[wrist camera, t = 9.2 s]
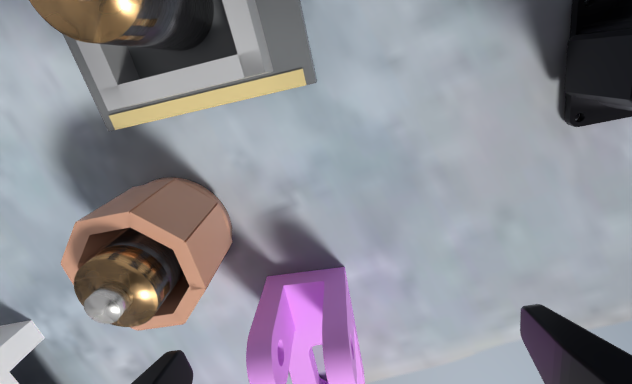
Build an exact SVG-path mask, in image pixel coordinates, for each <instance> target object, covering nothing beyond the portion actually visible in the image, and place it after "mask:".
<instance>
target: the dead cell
mask: <svg viewBox="0 0 632 384" xmlns="http://www.w3.org/2000/svg"><path fill="white" fill-rule="evenodd" d="M183 274H184V273H183V270H182V268H181V266H180V264H179V262H178V259H177V257H176V255H175V253H174V251H173V250H172V249H171V248H169V247H167V246H165V245H163V244H161V243H159V242H157V241H155V240H153V239H152V238H150V237H148V236H146V235H144V234H142V233H140V232H138V231H136V230H134V229H132V228H131V227H130V228H129V229H128V230H126V231H125V232H124V233H123V234H121V235H120V236H119V237H118V238H116V239H115V240H114V241H113V242H111V243H110V244H109V245H108V246H106V247H105V248H104V249H103V250H101V251H100V252H99V253H98V254H96V255H95V256H94V257H93V258H91V259H90V260H89V261H88V262H86V263H85V264H84V265H83V266H82V267H80V268H79V270H78V271H77V273H76V275H75V278H74V289H75V293H76V295H77V297H78V299H79V301H80V302H81V304H82V305H83V306H84V310H85V312H86V313H87V315H88V316H89V317H90V318H92V319H93V320H95V321H97V322H99V323H103V324H112V325H116V326H121V327H134V326H139V325H142V324H144V323H146V322H148V321H149V320H150V319H151V318H152V317H153V316H154V315H155V313H156V312H157V311H158V309H159V308H160V306H161V305H162V304H163V302H164V301H165V299H166V298H167V297H168V295H169V294H170V292H171V291H172V290H173V288H174V287H175V285H176V284H177V283H178V281H179V280H180V278H181V277H182V276H183Z"/></svg>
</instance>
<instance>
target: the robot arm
mask: <svg viewBox="0 0 632 384" xmlns="http://www.w3.org/2000/svg"><path fill="white" fill-rule="evenodd" d="M565 92H566V106H565V122H566V123H567V124H568V125H571V126H575V127H580V126H585V125H590V124H596V123H601V122H606V121H611V120H616V119H621V118H626V117H632V0H589V3H588V5H587V6H585V5H584V0H573V3H572V15H571V30H570V40H569V42H568V48H567V64H566V79H565ZM578 113H579V114H580V116H579V118H578V119H577V120H575V116H576V115H577V114H578ZM520 332H521V337H522V340H523V342H524V344H525V346H526V348H527V350H528V352H529V353H530V356H531V358H532V359H533V362H534V364H535V366H536V367H537V369H538V371H539V373H540V375H541V377H542V379H543V381H544V383H545V384H632V355H630V354H628V353H627V352H625V351H623V350H621V349H620V348H618V347H616V346H614V345H612V344H611V343H609V342H607V341H605V340H604V339H602V338H600V337H598V336H596V335H595V334H593V333H591V332H589V331H588V330H586V329H584V328H582V327H581V326H579V325H577V324H575V323H573V322H572V321H570V320H568V319H566V318H565V317H563V316H561V315H559V314H557V313H556V312H554V311H552V310H550V309H549V308H547V307H545V306H543V305H540V304H535V305H527V306H523V307H522V308H521V320H520ZM192 381H193V370H192V368H191V366H190V364H189V362H188V360H187V358H186V356H185V354H184V353H183V352H182V351H181V350H177V351H169V352H166V353H165V354H164V355H163V356H161V357H160V358H159V359H158V360H157V361H156V362H155V363H154V364H153V365H151V366H150V367H149V368H148V369H147V370H146V371H145V372H144V373H142V374H141V375H140V376H139V377H138V378H137V379H136V380H135V381H134V382H132V383H131V384H192Z"/></svg>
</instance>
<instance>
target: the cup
mask: <svg viewBox="0 0 632 384" xmlns="http://www.w3.org/2000/svg"><path fill="white" fill-rule="evenodd" d="M130 227H131V228H132V229H134V230H136V231H138V232H140V233H142V234H144V235H146V236H148V237H150V238H152V239H153V240H155V241H157V242H159V243H161V244H163V245H165V246H167V247H169V248H171V249H172V250H173V251H174V253H175V255H176V257H177V259H178V262H179V264H180V266H181V268H182V270H183V273H184V274H183V276H182V277H181V278H180V280H179V281H178V283H177V284H176V285H175V287H174V288H173V290H172V291H171V292H170V294H169V295H168V297H167V298H166V299H165V301H164V302H163V304H162V305H161V306H160V308H159V309H158V311H157V312H156V313H155V315H154V316H153V317H152V318H151V319H150V320H149V321H148V322H146V323H144V324H142V325H139V326H134V327H131V328H133V329H135V330H145V329H152V328H159V327H167V326H174V325H181V324H184V323H185V322H186V321H187V319H188V317H189V316H190V314H191V313H192V311H193V309H194V308H195V306H196V305H197V303H198V301H199V300H200V298H201V296H202V295H203V293H204V292H205V290H206V288H207V287H208V285H209V283H210V281H211V280H212V278H213V276H214V274H215V272H216V271H217V269H218V267H219V265H220V264H221V262H222V260H223V258H224V257H225V255H226V253H227V251H228V250H229V248H230V246H231V244H232V225H231V221H230V217H229V215H228V213H227V211H226V209H225V207H224V206H223V204H222V203H221V202H220V200H219V199H218V198H217V197H216V196H215V195H214V194H213V193H211V192H210V191H209V190H208V189H206V188H205V187H203V186H201V185H199V184H197V183H195V182H193V181H190V180H187V179H183V178H176V177H166V178H159V179H156V180H153V181H151V182H149V183H147V184H145V185H140V186H135V187H132V188H130V189H129V190H127V191H126V192H124V193H122V194H121V195H119V196H117V197H116V198H114V199H113V200H111V201H109V202H108V203H106V204H104V205H103V206H101V207H100V208H98V209H96V210H95V211H93V212H91V213H90V214H88V215H86V216H85V217H83V218H82V219H80V220H78V221H77V222H76V223H75V225H74V227H73V230H72V233H71V236H70V238H69V241H68V244H67V247H66V249H65V252H64V255H63V258H62V261H61V263H62V264H61V265H62V267H63V269H64V270H65V272H66V273H67V275H68V277H69V278H70V280H71V282H72V283H73V285H74V278H75V275H76V273H77V271H78V270H79V268H80V267H82V266H83V265H84V264H85V263H86V262H88V261H89V260H90V259H91V258H93V257H94V256H95V255H96V254H98V253H99V252H100V251H101V250H103V249H104V248H105V247H106V246H108V245H109V244H110V243H111V242H113V241H114V240H115V239H116V238H118V237H119V236H120V235H121V234H123V233H124V232H125V231H126V230H128V229H129V228H130Z"/></svg>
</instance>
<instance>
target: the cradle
mask: <svg viewBox="0 0 632 384" xmlns="http://www.w3.org/2000/svg"><path fill="white" fill-rule="evenodd" d="M213 4H214V17H213V23H212V26H211V29H210V31H209V33H208V35H207V36H206V38H205V39H204V40H203V41H202V42H201V43H200V44H199V45H197V46H196V47H194V48H192V49H189V50H184V51H174V50H163V49H151V48H140V47H129V46H117V45H106V44H95V43H86V42H82V41H78V40H75V39H73V38H70V37H68V36H66V35H64V34H63V35H64V37H65V40H66V42H67V44H68V46H69V48H70V50H71V52H72V55H73V57H74V59H75V61H76V63H77V65H78V67H79V70H80V72H81V74H82V76H83V78H84V80H85V82H86V85H87V87H88V89H89V91H90V93H91V95H92V97H93V99H94V102H95V104H96V106H97V108H98V110H99V112H100V114H101V117H102V119H103V121H104V123H105V125H106V127H107V129H108V132H109V131H113V130H117V129H122V128H126V127H130V126H134V125H139V124H143V123H147V122H152V121H156V120H160V119H164V118H169V117H173V116H177V115H181V114H186V113H190V112H194V111H198V110H203V109H207V108H211V107H215V106H220V105H224V104H228V103H232V102H237V101H241V100H245V99H249V98H254V97H258V96H262V95H266V94H271V93H275V92H279V91H283V90H288V89H292V88H296V87H300V86H305V85H308V84H313V83H316V82H317V79H316V74H315V69H314V64H313V60H312V55H311V50H310V45H309V41H308V36H307V31H306V26H305V22H304V17H303V12H302V7H301V3H300V0H213Z"/></svg>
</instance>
